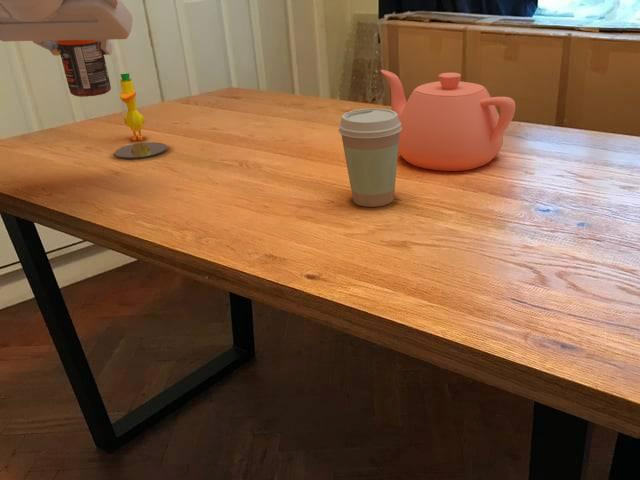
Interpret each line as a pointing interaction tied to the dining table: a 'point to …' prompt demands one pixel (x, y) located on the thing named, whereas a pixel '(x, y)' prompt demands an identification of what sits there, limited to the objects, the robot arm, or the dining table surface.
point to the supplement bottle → (84, 67)
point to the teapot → (449, 123)
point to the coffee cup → (371, 154)
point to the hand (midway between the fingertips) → (83, 51)
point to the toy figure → (131, 107)
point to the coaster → (141, 150)
